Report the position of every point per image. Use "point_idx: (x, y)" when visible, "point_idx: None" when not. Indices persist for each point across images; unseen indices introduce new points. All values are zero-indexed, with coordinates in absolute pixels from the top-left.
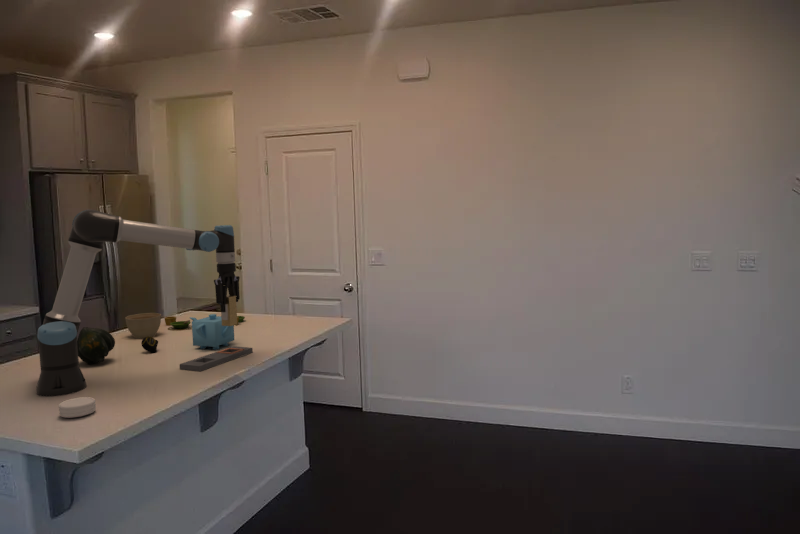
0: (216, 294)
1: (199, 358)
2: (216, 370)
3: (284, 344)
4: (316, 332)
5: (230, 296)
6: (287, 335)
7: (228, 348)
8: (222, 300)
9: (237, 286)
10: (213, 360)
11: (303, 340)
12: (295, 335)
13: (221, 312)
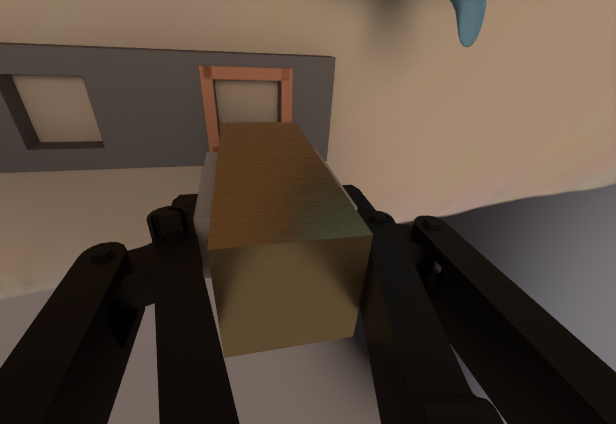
0: (14, 371)
1: (59, 63)
2: (47, 210)
3: (444, 180)
4: (603, 170)
5: (287, 332)
6: (585, 102)
7: (278, 76)
8: (130, 325)
9: (505, 411)
10: (80, 159)
11: (495, 200)
12: (576, 131)
13: (217, 160)
